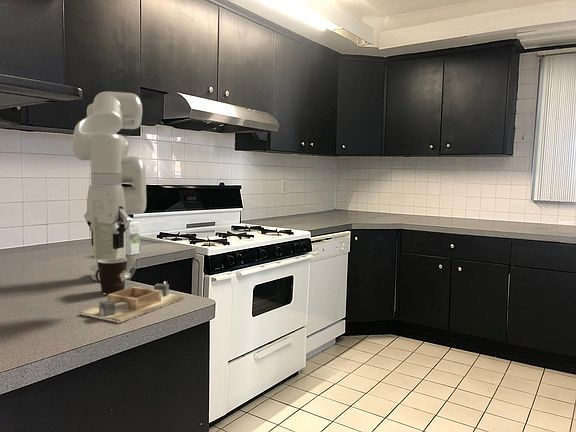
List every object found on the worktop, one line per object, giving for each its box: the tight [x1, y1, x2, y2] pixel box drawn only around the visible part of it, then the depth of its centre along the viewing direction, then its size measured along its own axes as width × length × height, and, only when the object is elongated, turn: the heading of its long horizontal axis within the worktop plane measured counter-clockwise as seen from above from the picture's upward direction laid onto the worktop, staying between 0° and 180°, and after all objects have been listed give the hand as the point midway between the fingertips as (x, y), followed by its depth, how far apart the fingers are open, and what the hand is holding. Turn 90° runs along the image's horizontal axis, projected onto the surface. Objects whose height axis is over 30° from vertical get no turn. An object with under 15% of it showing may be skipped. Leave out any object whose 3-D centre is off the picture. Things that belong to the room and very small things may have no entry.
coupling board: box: [79, 283, 184, 322], centre depth 131 cm, size 14×25×4 cm, turn 155°
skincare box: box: [92, 215, 122, 261], centre depth 126 cm, size 6×4×12 cm
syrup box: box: [125, 220, 141, 257], centre depth 208 cm, size 6×6×14 cm
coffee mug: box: [96, 258, 128, 294], centre depth 144 cm, size 12×9×10 cm
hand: (107, 246), depth 127 cm, fingers closed on skincare box, 7 cm apart
